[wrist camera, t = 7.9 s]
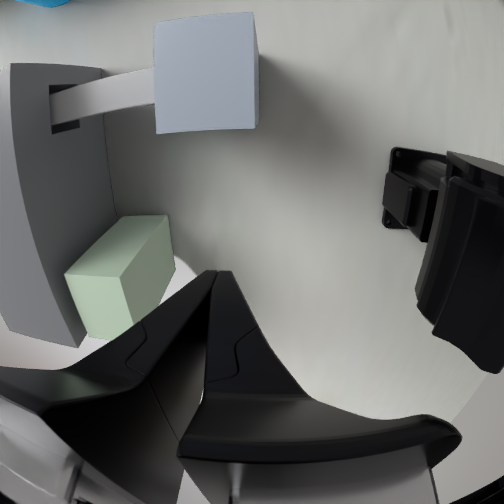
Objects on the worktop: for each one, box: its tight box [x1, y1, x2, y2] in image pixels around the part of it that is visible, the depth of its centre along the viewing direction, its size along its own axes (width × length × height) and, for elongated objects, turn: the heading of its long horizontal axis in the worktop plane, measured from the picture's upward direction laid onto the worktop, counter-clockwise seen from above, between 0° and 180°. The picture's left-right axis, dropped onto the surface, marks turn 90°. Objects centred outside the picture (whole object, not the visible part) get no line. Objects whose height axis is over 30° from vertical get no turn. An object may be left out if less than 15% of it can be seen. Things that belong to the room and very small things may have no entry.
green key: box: [64, 215, 176, 341], centre depth 20 cm, size 14×5×9 cm, turn 91°
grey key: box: [49, 12, 259, 134], centre depth 14 cm, size 16×5×9 cm, turn 91°
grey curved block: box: [0, 63, 117, 348], centre depth 17 cm, size 8×18×10 cm, turn 1°
